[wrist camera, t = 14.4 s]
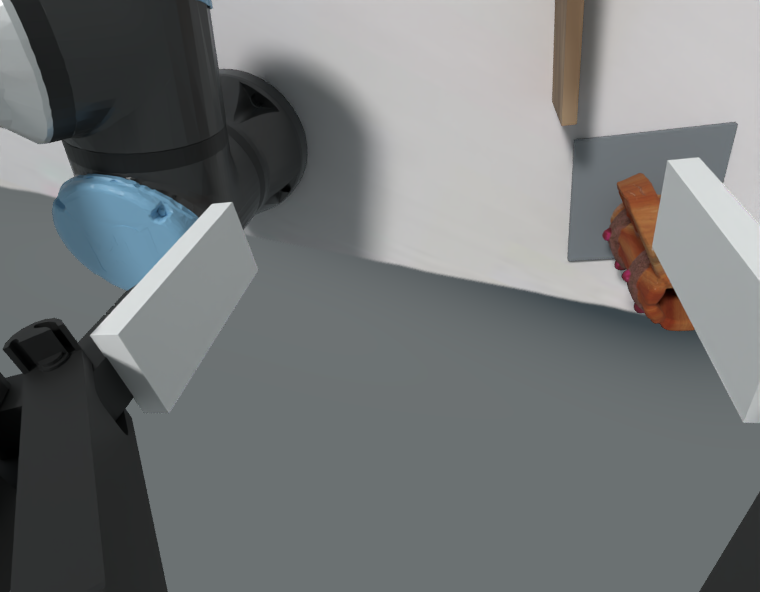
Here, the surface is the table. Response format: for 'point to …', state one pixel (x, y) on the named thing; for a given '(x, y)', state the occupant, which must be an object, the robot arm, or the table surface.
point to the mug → (643, 254)
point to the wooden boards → (567, 59)
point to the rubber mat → (632, 174)
